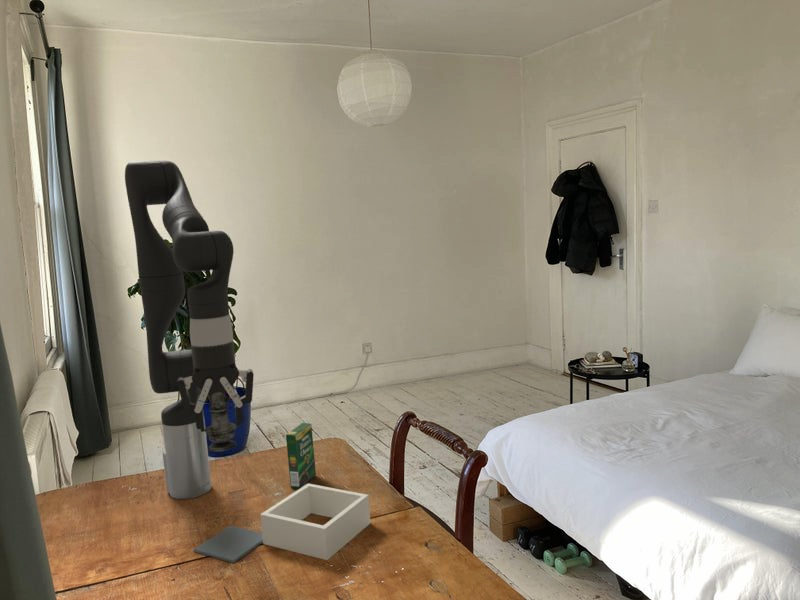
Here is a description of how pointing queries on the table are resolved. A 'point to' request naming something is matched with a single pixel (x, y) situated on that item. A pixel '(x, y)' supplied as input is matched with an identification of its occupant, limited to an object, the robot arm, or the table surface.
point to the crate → (312, 538)
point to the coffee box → (300, 455)
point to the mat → (231, 544)
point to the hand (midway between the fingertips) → (220, 427)
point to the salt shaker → (220, 425)
